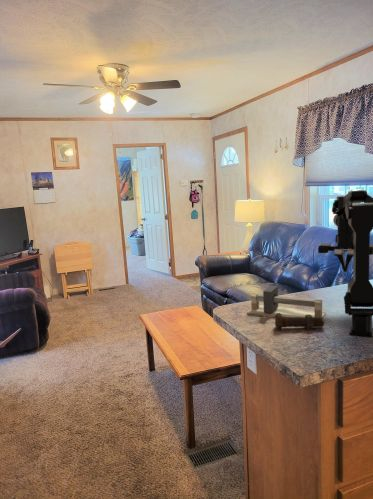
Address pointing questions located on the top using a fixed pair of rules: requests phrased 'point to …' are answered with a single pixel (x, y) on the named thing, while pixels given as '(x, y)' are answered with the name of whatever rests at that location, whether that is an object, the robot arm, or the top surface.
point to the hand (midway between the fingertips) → (345, 271)
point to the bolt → (298, 322)
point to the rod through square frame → (287, 312)
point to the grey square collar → (270, 299)
